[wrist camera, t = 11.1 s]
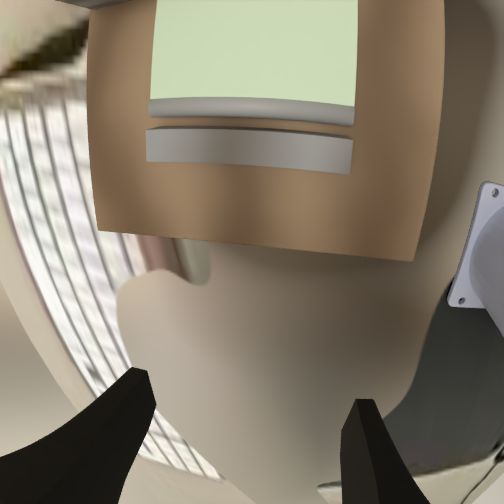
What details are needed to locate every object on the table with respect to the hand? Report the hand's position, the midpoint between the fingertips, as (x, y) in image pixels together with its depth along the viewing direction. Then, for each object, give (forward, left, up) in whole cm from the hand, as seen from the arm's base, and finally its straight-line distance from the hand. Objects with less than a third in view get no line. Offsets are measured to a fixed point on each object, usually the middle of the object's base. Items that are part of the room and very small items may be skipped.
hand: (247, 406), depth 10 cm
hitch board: (+2, -13, -9) cm, 16 cm away
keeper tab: (+2, -12, -8) cm, 14 cm away
